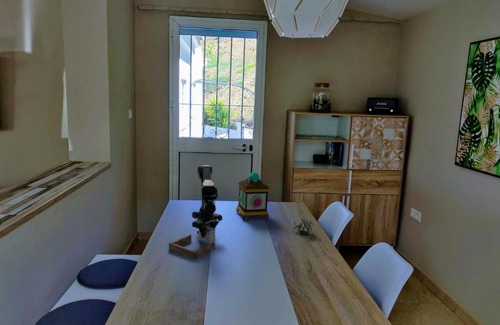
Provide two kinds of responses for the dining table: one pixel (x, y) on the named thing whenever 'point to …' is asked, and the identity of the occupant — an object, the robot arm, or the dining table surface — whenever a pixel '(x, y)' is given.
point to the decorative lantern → (253, 197)
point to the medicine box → (208, 236)
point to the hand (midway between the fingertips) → (207, 236)
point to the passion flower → (304, 226)
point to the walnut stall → (192, 254)
